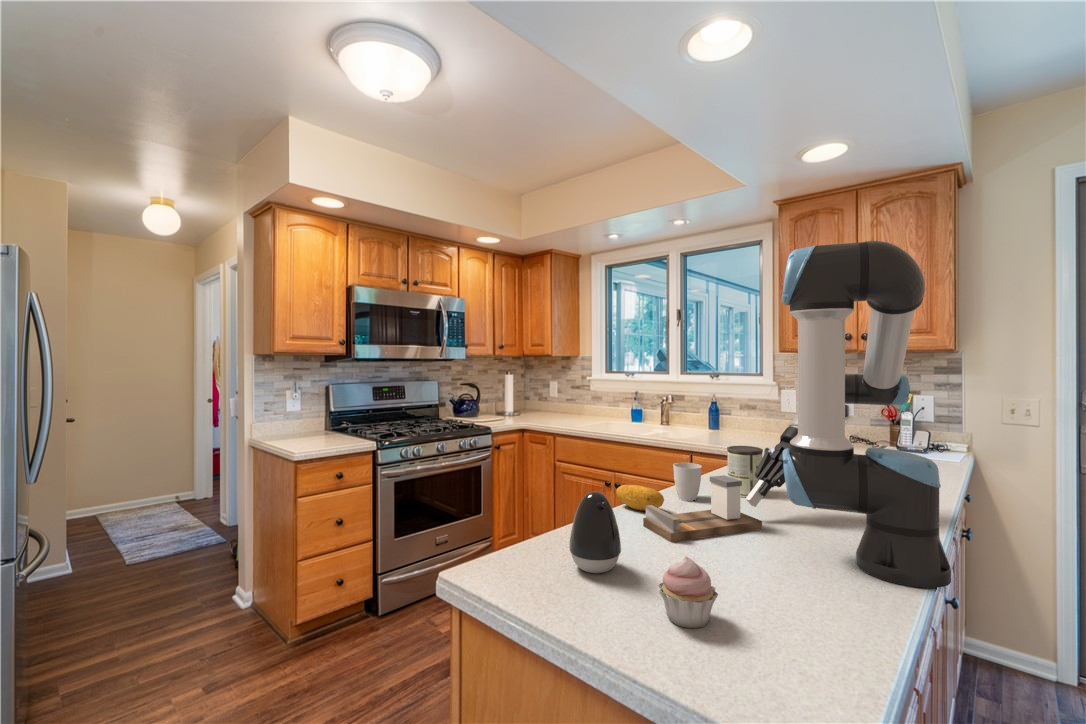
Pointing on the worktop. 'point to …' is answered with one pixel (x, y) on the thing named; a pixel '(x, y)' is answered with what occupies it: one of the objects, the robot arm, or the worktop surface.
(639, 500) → the potato
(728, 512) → the fader tab
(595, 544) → the dark egg-shaped tumbler
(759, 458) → the coffee can
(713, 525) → the board
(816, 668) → the worktop surface
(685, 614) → the cupcake
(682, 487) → the cup
